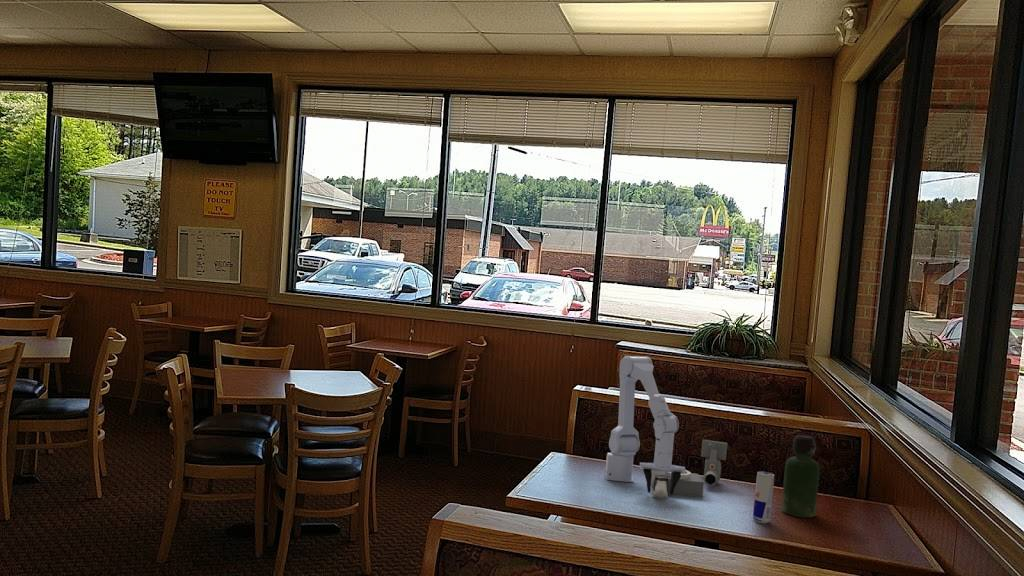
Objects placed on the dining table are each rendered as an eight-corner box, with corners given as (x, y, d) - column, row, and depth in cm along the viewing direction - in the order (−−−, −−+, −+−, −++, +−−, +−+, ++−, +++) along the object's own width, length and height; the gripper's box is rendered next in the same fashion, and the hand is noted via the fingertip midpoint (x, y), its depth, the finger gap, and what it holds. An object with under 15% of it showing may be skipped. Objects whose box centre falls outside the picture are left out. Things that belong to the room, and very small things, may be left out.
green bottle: (780, 514, 257) (787, 436, 257) (781, 506, 267) (788, 431, 266) (815, 520, 254) (822, 441, 253) (815, 512, 264) (822, 436, 263)
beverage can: (757, 517, 252) (762, 470, 251) (772, 522, 248) (777, 474, 248) (749, 520, 248) (754, 472, 248) (764, 525, 245) (769, 476, 244)
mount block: (654, 492, 271) (656, 473, 271) (650, 483, 282) (652, 465, 282) (702, 497, 270) (704, 477, 270) (696, 488, 281) (698, 469, 281)
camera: (696, 486, 283) (700, 444, 283) (699, 479, 294) (702, 438, 294) (722, 490, 281) (726, 448, 280) (723, 482, 292) (727, 441, 292)
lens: (652, 498, 263) (654, 478, 263) (651, 494, 268) (653, 474, 268) (668, 500, 263) (670, 480, 263) (666, 496, 268) (668, 476, 268)
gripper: (642, 452, 262) (639, 494, 262) (687, 457, 261) (684, 498, 261) (640, 447, 269) (636, 488, 269) (684, 452, 268) (680, 492, 268)
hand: (659, 493), depth 266 cm, fingers open, 7 cm apart
